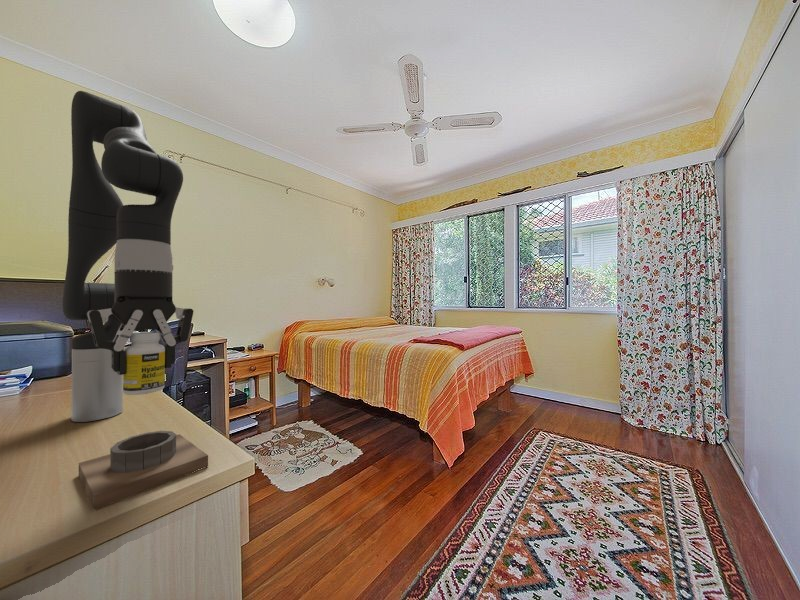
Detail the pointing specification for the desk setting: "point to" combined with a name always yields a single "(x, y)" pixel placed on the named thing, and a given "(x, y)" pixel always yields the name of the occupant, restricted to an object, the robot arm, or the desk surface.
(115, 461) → the cup bracket
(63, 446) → the desk surface
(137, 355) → the supplement bottle
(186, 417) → the desk surface
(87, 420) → the robot arm
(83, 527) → the desk surface
